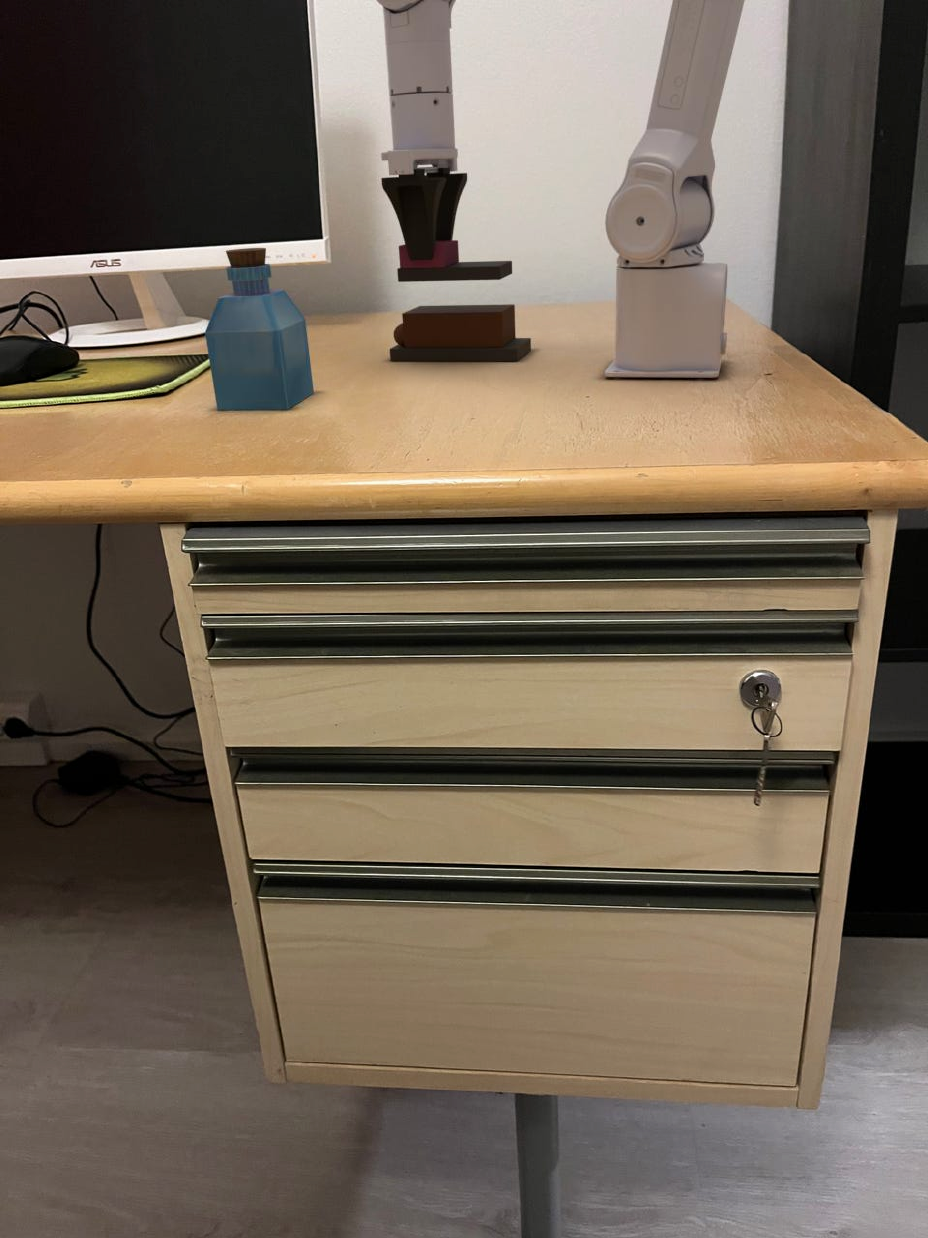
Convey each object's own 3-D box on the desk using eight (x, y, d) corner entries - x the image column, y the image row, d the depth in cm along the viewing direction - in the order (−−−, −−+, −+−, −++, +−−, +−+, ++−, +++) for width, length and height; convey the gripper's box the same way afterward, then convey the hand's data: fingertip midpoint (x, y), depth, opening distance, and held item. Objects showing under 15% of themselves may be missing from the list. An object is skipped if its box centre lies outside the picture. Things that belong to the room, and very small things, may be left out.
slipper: (512, 273, 92) (511, 238, 91) (500, 279, 88) (499, 242, 86) (414, 275, 95) (412, 241, 93) (397, 281, 91) (395, 245, 89)
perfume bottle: (288, 409, 77) (267, 251, 72) (217, 409, 78) (192, 254, 73) (314, 392, 83) (296, 244, 78) (247, 393, 84) (226, 247, 79)
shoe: (531, 349, 97) (530, 303, 95) (517, 361, 91) (516, 312, 89) (410, 350, 100) (406, 305, 98) (390, 361, 95) (386, 313, 93)
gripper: (405, 101, 93) (415, 251, 99) (349, 94, 80) (364, 265, 86) (475, 96, 91) (480, 249, 97) (428, 88, 78) (438, 263, 84)
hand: (430, 257), depth 91 cm, fingers closed on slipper, 5 cm apart
